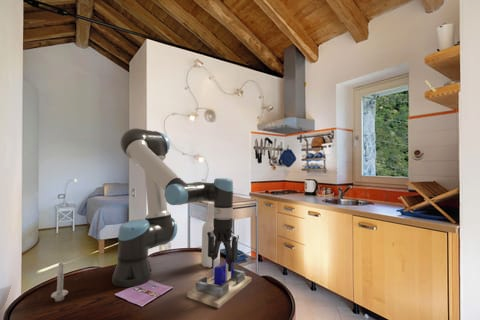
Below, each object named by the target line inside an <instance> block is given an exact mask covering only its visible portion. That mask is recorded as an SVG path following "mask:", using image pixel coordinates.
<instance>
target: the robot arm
mask: <svg viewBox="0 0 480 320" xmlns="http://www.w3.org/2000/svg"><path fill="white" fill-rule="evenodd" d="M170 145H171V144H170V140H169V138H168V137H167V135H165V134H164V133H163V132H159V131H157V130H155V131H153V130H148V129H142V128H136V127H135V128H131V129H128V130H127V131H125V132H124V133H122V136H121V138H120V147H121V150H122V152H123V153H124V154H125V155H126V157H128V159H132V160H134V161H135V162H136V164H138V165H139V166H140V168H142V170H144V176H145V178H144V179H145V191H146V202H147V203H146V204H147V215H145V217H144V219H133V220H129V221H126V222H124V223H122V224H121V225H120V227H119V229H118V235H117V240H118V243H117V244H118V245H117V263H116V264H115V265H116V266H115V268H114V271H113V273H112V280H111V282H112V284H113V285H115V286H116V287H119V288H120V287H122V288H129V287H136V286H140V285H142V284H144V283H147V282H149V281H150V280H151V279H152V273H153V272H152V271H153V270H152V267H151V264H150V261H149V250H151V249H154V248H156V247H159V246H163V245H166V244H169V243H170V242H172V241H174V239H175V238H176V236H177V234H178V223H177V221H176V220H175V218H173V217H172V214H171V212H169V211H168V205H167V204H169V205H171V206H182V205H185V204H190V203H198V202H199V203H200V202H214V217H215V218H214V219H213V227H214V230H213V231H210V232H208V233H207V235H208V257H211V258H212V267H213V269H212V274H213V275H212V277H214V268H215V267H216V266H218V267H220V263H219V258H217V256H218V252H219V248H220V249H221V243H223V246H224V251H225V255H226V258H227V263H226V262H225V263H226V279H225V280H226V281H228V280H229V279H231V271H232V270H233V263H234V264H235V262H237V261H238V258H239V257H238V256H239V255H238V254H239V253H238V251H239V250H238V249H239V247H238V245H239V244H238V243H239V242H238V241H239V239H240V236H239V235H238V234H237V235H236V234H234V233H233V216H234V209H233V208H234V207H233V205H234V204H233V203H234V202H233V200H234V182H233V179H232V178H221V177H220V178H215V179H214V181H213V182H202V181H199V182H198V181H194V182H189V183H188V182H185V181H184V180H183V179H182V178H181V177H180V176H178V175H177V173H176V172H175V171H174V170H173V169H172V168H171V167H169V166H168V165H167V163H165V162H164V160H165V159H166V155H167V154H168V153H169V150H170V147H171V146H170ZM214 235H215V237H216V238H215V245H214Z"/></svg>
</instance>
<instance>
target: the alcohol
mask: <svg viewBox="0 0 480 320" xmlns="http://www.w3.org/2000/svg"><path fill="white" fill-rule="evenodd" d="M214 218H215V217H214V202H211V201H207V213H206V220H205V222H204V224H203V225H202V229H201V256H200V257H201V260H200V261H201V263H200V264H201V265H202V266H203V267H205V268H207V267H208V268H209V269H210V268H211V267H212V258H211V257H208V235H207V233H208V232H210V231H213V230H214V227H213V219H214ZM215 238H216V237H215V235H214V245H215ZM220 253H221V247H220V248H219V252H218V256H217V258H219V264H220V262H221V261H220V257H221V254H220ZM211 269H212V268H211Z"/></svg>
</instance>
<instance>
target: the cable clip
mask: <svg viewBox="0 0 480 320" xmlns="http://www.w3.org/2000/svg"><path fill="white" fill-rule="evenodd" d="M226 263H227V257H226V258H225V263H223V264H222V265H221V266H219V267H218V266H216V267H215V268H214V284H217V285H222V284H223V283H224V282H225V281H226V280H225V279H226ZM234 269H235V262H234V263H233V270H232V271H231V275H232V274H233V273H234Z"/></svg>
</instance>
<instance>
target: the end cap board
mask: <svg viewBox="0 0 480 320" xmlns="http://www.w3.org/2000/svg"><path fill="white" fill-rule="evenodd" d="M252 279H253V278H252V276H247V275H246V271H243V270H241V269H240V270H239V269H236V268H234V273H233V274H232V275H231V279H229V280H228V281H225V282H224V283H223V284H222V285H217V284H214V277H213V276H212V277H210V278H209V279H208V276H204V277H201V279H199V280H197V281H195V286H194V288H192V289H191V290H189V291H187V292H186V297H187V298H189V299H191V300H194V301H197V302H200V303H203V304H205V305H208V306H211V307H214V308H215V309H216V308H217V309H220V308H221V307H222V306H223V305H224V304H226V303H228V301H230V300H231V299H232V298H233V297H234V296H235V295H237V294H238V293H239V292H240V291H241V290H242V289H244V288H245V287H246V286H248V284H249V283H251V282H252Z"/></svg>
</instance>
